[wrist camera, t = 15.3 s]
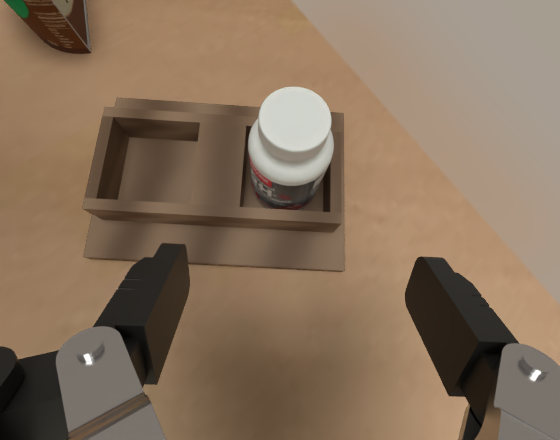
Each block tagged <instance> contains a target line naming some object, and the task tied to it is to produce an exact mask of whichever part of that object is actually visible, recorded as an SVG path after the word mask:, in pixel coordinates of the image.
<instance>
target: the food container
mask: <svg viewBox="0 0 560 440" xmlns="http://www.w3.org/2000/svg"><path fill="white" fill-rule="evenodd" d="M4 1H5V2H6V3H7V4H8V5H9V6H10V7H11V8H12V9H13V10H14V11H15V12H16V13H17V14H18V15H19V16H20V17H21V18H22V19H23V20H24V21H25V22H26V23H27V24H28V26H29V27H30V28H31V29H32V30H33V31H34V32H35V33H36V34H37V35H38V36H39V37H40V38H41V39H42V40H43V41H44V42H45V43H46V44H48V45H49V46H51V47H53V48H55V49H57V50H60V51H63V52H68V53H76V54H84V53H91V48H90V37H89V27H88V17H87V7H86V0H4Z"/></svg>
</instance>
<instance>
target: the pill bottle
mask: <svg viewBox="0 0 560 440" xmlns="http://www.w3.org/2000/svg"><path fill="white" fill-rule="evenodd" d="M331 123H332V119H331V113H330V110H329V108H328V106H327V104H326V103H325V101H324V100H323V99H322V98H321V97H320V96H319V95H318V94H316V93H314V92H313V91H311V90H308V89H306V88H302V87H286V88H282V89H279V90H276V91H275V92H273V93H272V94H270V95H269V96H268V97H267V98H266V99H265V100H264V102H263V103H262V105H261V108H260V110H259V116H258V119H257V120H256V121H255V123H254V124H253V126H252V128H251V131H250V134H249V139H248V152H249V161H250V170H251V182H252V188H253V191H254V194H255V196H256V198H257V199H258V201H259V202H260V203H261V204H262V205H263V206H265V207H266V208H268V209H285V210H301V209H303V208H304V207H305V206H307V205H308V204H309V203H310V201H311V200H312V199H313V197H314V195H315V193H316V191H317V189H318V187H319V185H320V183H321V180H322V178H323V176H324V174H325V172H326V170H327V168H328V166H329V164H330V162H331V159H332V155H333V150H334V140H333V135H332V132H331V130H330V129H331Z"/></svg>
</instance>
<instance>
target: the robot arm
mask: <svg viewBox="0 0 560 440" xmlns="http://www.w3.org/2000/svg"><path fill="white" fill-rule="evenodd" d="M189 287H190V277H189V267H188V257H187V248H186V245H185V244H174V243H162V244H161V245H160V246H159V248H158V250H157V251H156V253H155V255H154V257H144V258H142V259H141V260H140V261H138V262H137V263H136V264H134V265H133V266H132V267H131V269H130V270H129V272H128V273H127V275H126V276H125V279H124V280H123V281H122V283H121V284H120V286H119V287H118V290H116V292H115V294H114V295H113V297H112V298H111V300H110V301H109V303H108V304H107V306H106V308H105V309H104V311H103V312H102V314H101V315H100V317H99V318H98V320H97V321H96V323H95V325H94V326H93V328H89V329H86V330H84V331H81V332H79V333H77V334H76V335H74V336H73V337H71V338H70V339H69V340H68V341H66V342H65V343H64V344H63V346H62V347H61V348H60V350H58V351H54V352H50V353H46V354H41V355H36V356H32V357H27V358H23V359H18V358H17V356H16V355H15V353H14V351H13V350H11V349H9V348H7V347H0V440H166V438H165V436H164V433H163V431H162V428H161V426H160V423H159V421H158V419H157V416H156V414H155V411H154V409H153V406H152V404H151V402H150V400H149V398H148V396H147V395H145V393H144V391H143V389H142V388H143V386H144V384H154V385H157V383H158V380H159V377H160V374H161V371H162V369H163V366H164V363H165V360H166V357H167V354H168V351H169V349H170V346H171V343H172V340H173V337H174V334H175V332H176V329H177V326H178V323H179V320H180V317H181V315H182V312H183V309H184V306H185V303H186V300H187V297H188V293H189ZM405 303H406V307H407V309H408V311H409V313H410V315H411V317H412V320H413V322H414V324H415V326H416V328H417V330H418V332H419V334H420V336H421V339H422V341H423V343H424V345H425V347H426V349H427V351H428V353H429V355H430V357H431V360H432V362H433V364H434V366H435V368H436V370H437V372H438V374H439V376H440V378H441V381H442V383H443V385H444V387H445V389H446V391H447V393H448V395H449V396H460V397H466V399H467V401H468V403H469V404H468V406H467V407H466V409H465V412H464V417H463V421H462V425H461V429H460V434H459V438H458V440H560V366H559V365H558V364H557V363H556V362H555V361H553V360H552V359H551V358H550V357H548V356H547V355H546V354H544V353H542V352H541V351H539V350H537V349H535V348H533V347H530V346H527V345H524V344H519V342H518V341H517V340H516V339H515V337H514V336H513V335H512V333H511V332H510V331H509V330H508V328H507V327H506V326H505V325H504V323H503V322H502V321H501V319H500V318H499V317H498V316H497V314H496V313H495V312H494V311H493V309H492V308H489V304H488V303H487V302H486V300H485V299H484V298H482V297H481V294H480V293H479V292H478V290H477V289H476V288H475V287H474V285H473V284H472V283H471V282H470V281H468V280H467V279H466V278H464V277H463V276H462V275H460V274H459V273H455V272H454V271H453V270H452V268H451V267H450V266H449V264H448V263H447V262H446V260H445V259H444V258H439V257H418V258H417V260H416V262H415V265H414V267H413V270H412V273H411V276H410V279H409V282H408V285H407V288H406V291H405Z"/></svg>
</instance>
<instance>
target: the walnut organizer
mask: <svg viewBox="0 0 560 440" xmlns="http://www.w3.org/2000/svg"><path fill="white" fill-rule="evenodd" d="M260 108H261V107H248V106H234V105H219V104H205V103H190V102H176V101H161V100H147V99H132V98H118V97H117V98H116V102H115V107H104V111H103V116H102V120H101V125H100V129H99V134H98V138H97V143H96V148H95V152H94V157H93V161H92V166H91V170H90V175H89V179H88V184H87V189H86V193H85V198H84V202H83V207H82V209H83V210H85V211H87V212H89V213H91V214H92V217H91V221H90V226H89V231H88V236H87V240H86V245H85V250H84V255H83V257H85V258H89V259H103V260H123V261H140V260H141V259H142V258H144V257H154V255H155V253H156V251H157V250H158V248H159V246H160V245H161V244H162V243H174V244H185V245H186V248H187V257H188V264H200V265H219V266H239V267H258V268H277V269H297V270H316V271H335V272H343V271H345V226H344V113H336V112H330V113H331V119H332V123H331V129H330V130H331V132H332V135H333V140H334V150H333V155H332V159H331V162H330V164H329V166H328V168H327V170H326V172H325V174H324V176H323V178H322V180H321V183H320V185H319V187H318V189H317V191H316V193H315V195H314V197H313V199H312V200H311V201H310V203H309V204H308V205H307V206H305V207H304V208H303V209H301V210H285V209H268V208H266V207H265V206H263V205H262V204H261V203H260V202H259V201H258V199H257V198H256V196H255V194H254V191H253V188H252V182H251V170H250V161H249V152H248V139H249V134H250V131H251V128H252V126H253V124H254V123H255V121H256V120H257V119H258V116H259V110H260Z"/></svg>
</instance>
